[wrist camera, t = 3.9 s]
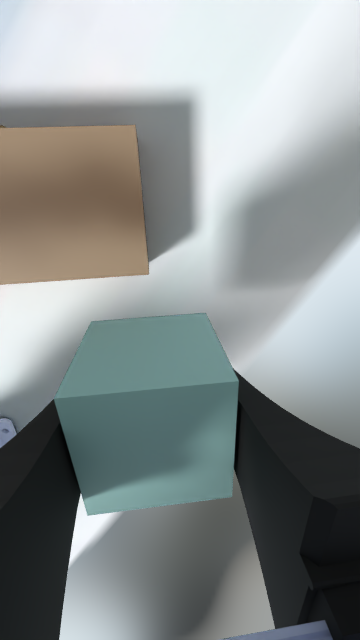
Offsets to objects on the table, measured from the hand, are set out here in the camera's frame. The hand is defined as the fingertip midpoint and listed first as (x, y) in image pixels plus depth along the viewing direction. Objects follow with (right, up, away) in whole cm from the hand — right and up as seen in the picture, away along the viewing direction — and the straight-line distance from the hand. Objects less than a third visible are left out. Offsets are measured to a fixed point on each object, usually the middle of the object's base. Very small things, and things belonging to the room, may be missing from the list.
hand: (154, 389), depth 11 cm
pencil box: (-8, +9, +5) cm, 13 cm away
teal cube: (0, +1, +2) cm, 2 cm away
